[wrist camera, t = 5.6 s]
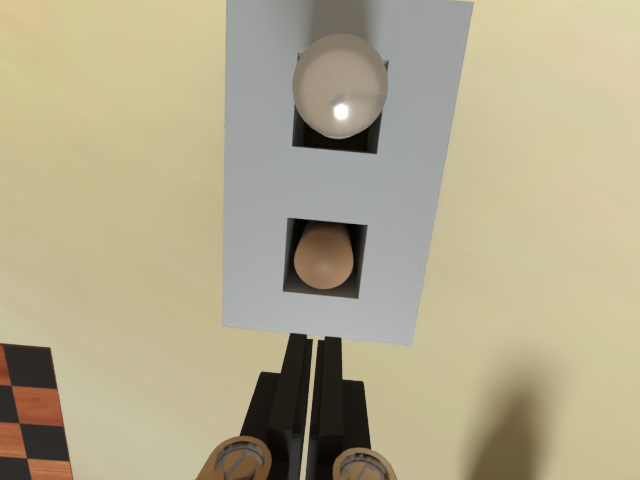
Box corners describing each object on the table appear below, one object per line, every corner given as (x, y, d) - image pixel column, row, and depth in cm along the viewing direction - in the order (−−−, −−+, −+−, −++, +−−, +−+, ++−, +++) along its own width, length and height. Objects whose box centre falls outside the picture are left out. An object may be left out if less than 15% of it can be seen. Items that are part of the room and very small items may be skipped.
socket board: (434, 42, 27) (473, 2, 20) (394, 298, 33) (411, 346, 25) (257, 26, 27) (226, -19, 20) (248, 284, 33) (222, 326, 26)
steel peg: (373, 75, 22) (394, 37, 14) (365, 141, 23) (381, 141, 15) (309, 69, 22) (295, 29, 14) (305, 136, 23) (289, 132, 15)
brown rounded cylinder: (351, 212, 31) (356, 236, 23) (346, 255, 32) (349, 291, 24) (306, 208, 31) (296, 230, 23) (302, 251, 32) (292, 286, 24)
